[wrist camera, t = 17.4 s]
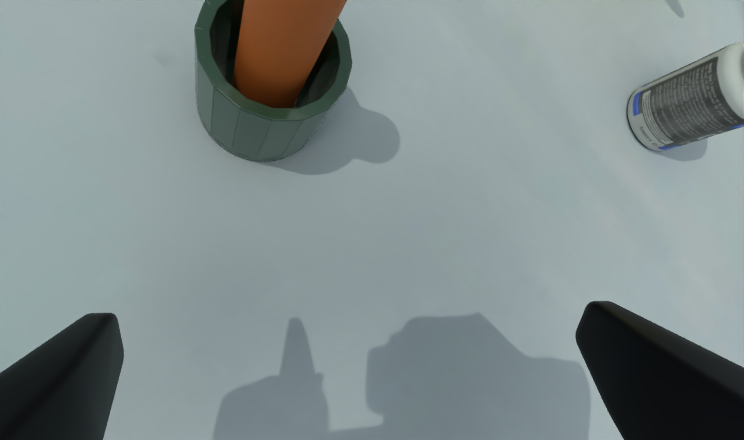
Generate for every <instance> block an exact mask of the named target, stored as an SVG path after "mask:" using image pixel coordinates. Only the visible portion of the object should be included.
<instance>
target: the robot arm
mask: <svg viewBox="0 0 744 440" xmlns="http://www.w3.org/2000/svg"><path fill="white" fill-rule="evenodd" d="M576 342H577V345H578V347H579V349H580V351H581V354H582V356H583V358H584V360H585V362H586V365H587V367H588V369H589V371H590V373H591V376H592V378H593V380H594V382H595V384H596V387H597V389H598V391H599V393H600V395H601V398H602V400H603V402H604V404H605V406H606V408H607V410H608V412H609V414H610V416H611V418H612V419H613V421H614V423H615V425H616V427H617V428H618V430H619V432H620V434H621V435H622V437H623V439H624V440H744V368H743V367H741V366H739V365H737V364H735V363H733V362H731V361H729V360H727V359H725V358H723V357H721V356H719V355H717V354H715V353H713V352H711V351H709V350H707V349H705V348H703V347H701V346H699V345H697V344H695V343H693V342H691V341H689V340H687V339H685V338H683V337H681V336H679V335H677V334H675V333H673V332H671V331H669V330H667V329H665V328H663V327H661V326H659V325H657V324H655V323H653V322H651V321H649V320H647V319H645V318H643V317H641V316H639V315H637V314H635V313H633V312H631V311H629V310H627V309H625V308H623V307H621V306H619V305H617V304H615V303H613V302H609V301H593V302H590V303H589V304H588V305H587V306H586V308H585V310H584V313H583V315H582V318H581V320H580V323H579V325H578V328H577V330H576ZM123 358H124V349H123V344H122V339H121V334H120V329H119V324H118V319H117V317H116V315H114V314H113V313H90V314H86V315H85V316H83V317H81V318H80V319H79V320H77V321H76V322H74V323H73V324H71V325H70V326H68V327H67V328H65V329H64V330H62V331H61V332H60V333H58V334H57V335H55V336H54V337H52V338H51V339H49V340H48V341H46V342H45V343H43V344H42V345H41V346H39V347H38V348H36V349H35V350H33V351H32V352H30V353H29V354H27V355H26V356H24V357H23V358H22V359H20V360H19V361H17V362H16V363H14V364H13V365H11V366H10V367H8V368H7V369H5V370H4V371H3V372H1V373H0V440H103V437H104V433H105V430H106V426H107V422H108V418H109V414H110V410H111V407H112V403H113V399H114V395H115V391H116V387H117V384H118V380H119V376H120V372H121V368H122V364H123Z"/></svg>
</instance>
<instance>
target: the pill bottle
mask: <svg viewBox="0 0 744 440" xmlns="http://www.w3.org/2000/svg"><path fill="white" fill-rule="evenodd" d="M628 118H629V122H630V125H631V128H632V130H633V132H634V134H635V135H636V136H637V138H638V139H639V140H640V141H641V142H642V143H643V144H644V145H645V146H646V147H648V148H650V149H652V150H656V151H664V150H668V149H672V148H675V147H679V146H682V145H685V144H688V143H691V142H694V141H699V140H702V139H704V138H708V137H711V136H714V135H717V134H720V133H723V132H727V131H730V130H733V129H736V128H740V127H743V126H744V42H739V43H734V44H731V45H728V46H726V47H724V48H722V49H720V50H718V51H716V52H713V53H711V54H709V55H707V56H705V57H703V58H701V59H699V60H697V61H695V62H693V63H691V64H689V65H686V66H684V67H682V68H680V69H678V70H676V71H673V72H671V73H669V74H667V75H665V76H662V77H660V78H658V79H656V80H654V81H652V82H650V83H648V84H646V85H644V86H642V87H640V88H638V89H637V90H636V91H635V92H634V93H633V95H632V96H631V98H630V101H629V104H628Z"/></svg>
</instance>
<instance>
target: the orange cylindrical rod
mask: <svg viewBox="0 0 744 440" xmlns="http://www.w3.org/2000/svg"><path fill="white" fill-rule="evenodd" d="M346 1H347V0H245V1H244V8H243V14H242V21H241V27H240V34H239V40H238V47H237V53H236V60H235V66H234V73H233V79H232V86H233V87H234V88H236V89H237V90H238V91H239V92H240V93H241V94H243V95H244V96H245V97H246V98H247V99H250V100H253V101H255V102H258V103H261V104H264V105H266V106H269V107H272V108H293V106H294V104H295V102H296V100H297V98H298V96H299V94H300V92H301V90H302V88H303V86H304V84H305V82H306V80H307V78H308V76H309V74H310V72H311V70H312V68H313V66H314V64H315V62H316V60H317V58H318V56H319V55H320V53H321V51H322V49H323V47H324V45H325V43H326V41H327V39H328V37H329V35H330V33H331V31H332V29H333V27H334V25H335V23H336V21H337V19H338V17H339V15H340V13H341V11H342V9H343V7H344V5H345V3H346Z"/></svg>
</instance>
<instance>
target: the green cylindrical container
mask: <svg viewBox="0 0 744 440" xmlns="http://www.w3.org/2000/svg"><path fill="white" fill-rule="evenodd" d="M244 1H245V0H205V2H204V3H203V6H202V8H201V11H200V14H199V16H198V19H197V22H196V25H195V29H194V39H195V88H196V98H197V109H198V113H199V116H200V119H201V121H202V124H203V126H204V127H205V129H206V131H207V132H208V134H209V135H210V136H211V137H212V138H213V139H214V141H216V142H217V143H218V144H219V145H220V146H221V147H223V148H224V149H225V150H227V151H228V152H230V153H232V154H234V155H236V156H239V157H241V158H244V159H248V160H252V161H264V162H267V161H275V160H279V159H283V158H285V157H288V156H290V155H292V154H294V153H295V152H297V151H298V150H299V149H301V148H302V147H303V146H304V145H305V144H306V142H307V141H308V140H309V138H310V137H311V136H312V135H313V134H314V133H315V131H316V130H317V128H318V127H319V126H320V124H321V123H322V121H323V120H324V119H325V117H326V116H327V115H328V113H329V112H330V110H331V109H332V108H333V106H334V105H335V103H336V102H337V101H338V99H339V98H340V97H341V95H342V94H343V92H344V91H345V89H346V86H347V82H348V79H349V75H350V71H351V68H352V59H351V52H350V45H349V38H348V35H347V33H346V32H345V30H344V28H343V26H342V24H341V22H340V21H339V19H337V21H336V23H335V25H334V27H333V29H332V31H331V33H330V35H329V37H328V39H327V41H326V43H325V45H324V47H323V49H322V51H321V53H320V55H319V56H318V58H317V60H316V62H315V64H314V66H313V68H312V70H311V72H310V74H309V76H308V78H307V80H306V82H305V84H304V86H303V88H302V90H301V92H300V94H299V96H298V98H297V100H296V102H295V104H294V106H293V108H272V107H269V106H266V105H264V104H261V103H258V102H255V101H253V100H250V99H247V98H246V97H245V96H244V95H243V94H241V93H240V92H239V91H238V90H237V89H236V88H234V87H233V86H232V79H233V73H234V66H235V60H236V53H237V47H238V40H239V34H240V27H241V21H242V14H243V8H244Z"/></svg>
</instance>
